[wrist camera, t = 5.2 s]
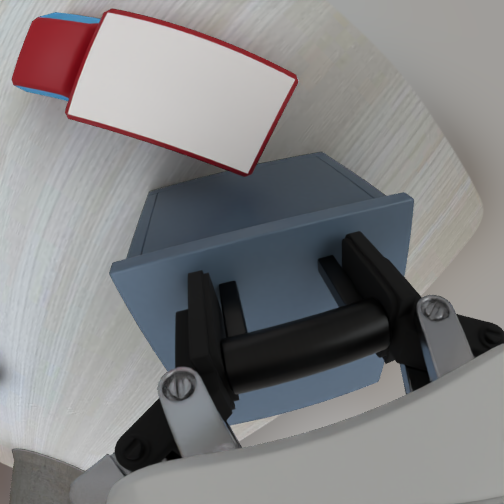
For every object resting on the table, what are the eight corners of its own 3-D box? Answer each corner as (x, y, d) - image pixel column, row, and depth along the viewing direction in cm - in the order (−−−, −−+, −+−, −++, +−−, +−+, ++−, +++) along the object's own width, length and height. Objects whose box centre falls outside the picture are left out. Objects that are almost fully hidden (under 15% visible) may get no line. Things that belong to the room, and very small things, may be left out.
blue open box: (148, 191, 20) (120, 275, 12) (322, 151, 20) (401, 206, 12) (200, 326, 27) (209, 419, 19) (329, 292, 28) (374, 373, 20)
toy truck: (64, 16, 12) (16, -2, 6) (268, 78, 17) (303, 77, 12) (36, 89, 14) (-19, 100, 8) (233, 150, 19) (250, 180, 14)
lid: (112, 261, 11) (80, 373, 7) (404, 191, 12) (490, 259, 7) (209, 419, 19) (218, 486, 15) (374, 373, 20) (404, 431, 15)
